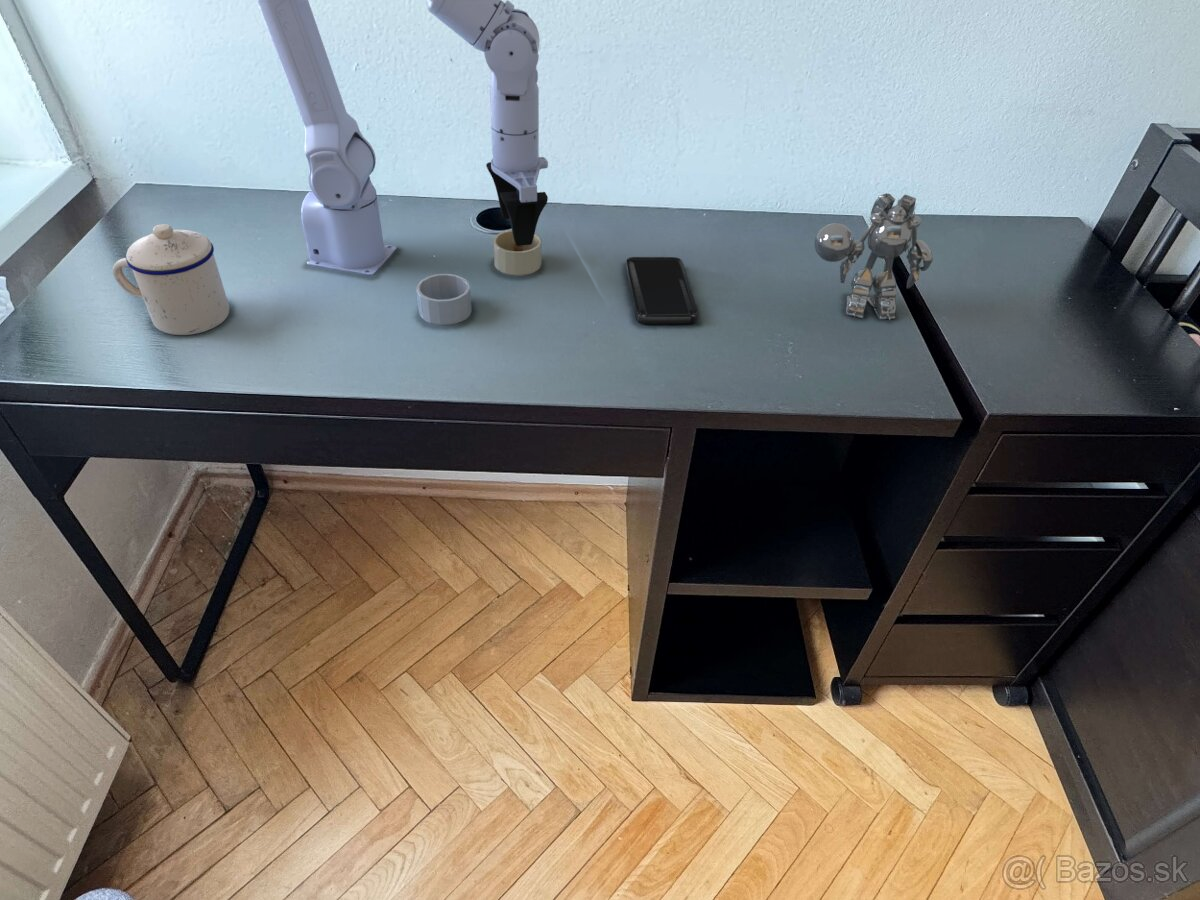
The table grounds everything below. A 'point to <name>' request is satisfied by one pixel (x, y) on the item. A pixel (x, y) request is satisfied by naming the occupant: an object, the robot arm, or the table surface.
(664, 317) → the phone
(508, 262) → the cream cup
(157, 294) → the teacup with lid
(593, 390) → the table surface
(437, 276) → the grey cup
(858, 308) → the robot toy
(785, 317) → the table surface
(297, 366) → the table surface
